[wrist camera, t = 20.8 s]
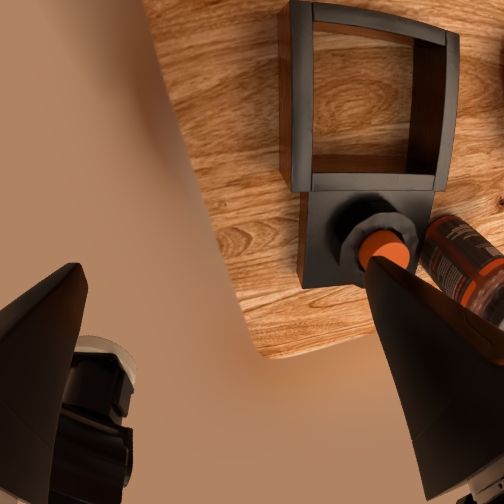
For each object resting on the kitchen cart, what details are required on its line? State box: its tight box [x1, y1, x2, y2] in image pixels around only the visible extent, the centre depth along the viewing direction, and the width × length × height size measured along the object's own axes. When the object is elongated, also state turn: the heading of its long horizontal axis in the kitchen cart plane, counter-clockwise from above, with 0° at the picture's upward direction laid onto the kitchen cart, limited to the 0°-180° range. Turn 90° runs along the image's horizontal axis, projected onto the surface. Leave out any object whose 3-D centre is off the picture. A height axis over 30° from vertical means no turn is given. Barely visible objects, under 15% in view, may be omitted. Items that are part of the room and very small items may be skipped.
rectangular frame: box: [277, 0, 460, 192], centre depth 17 cm, size 11×11×4 cm
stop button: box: [358, 230, 410, 271], centre depth 20 cm, size 3×3×2 cm
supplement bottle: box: [419, 215, 504, 331], centre depth 21 cm, size 6×6×11 cm
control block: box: [297, 191, 435, 289], centre depth 22 cm, size 10×8×4 cm
